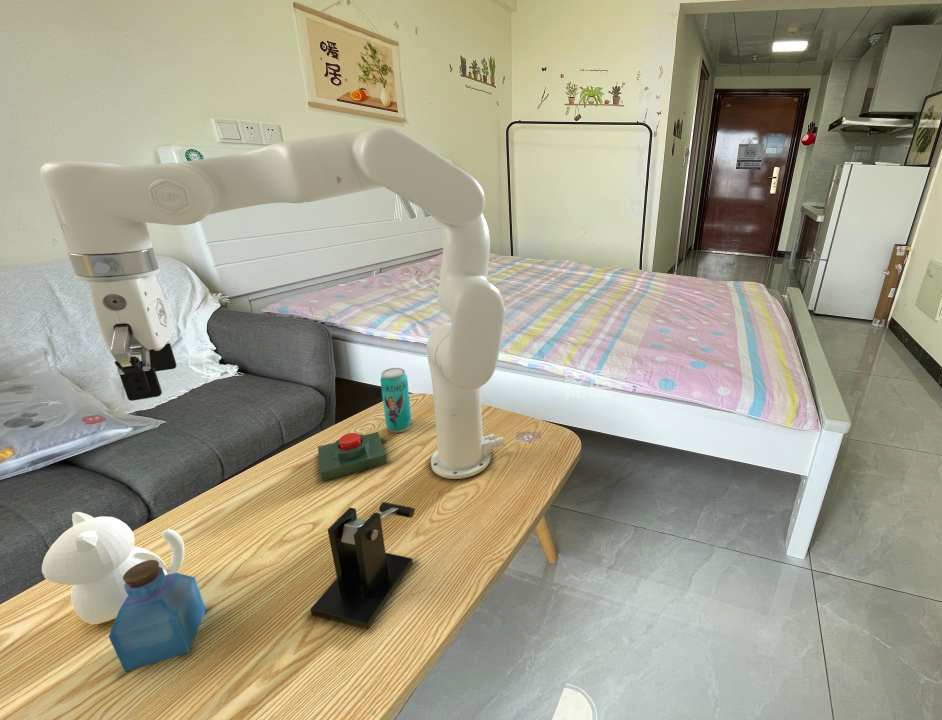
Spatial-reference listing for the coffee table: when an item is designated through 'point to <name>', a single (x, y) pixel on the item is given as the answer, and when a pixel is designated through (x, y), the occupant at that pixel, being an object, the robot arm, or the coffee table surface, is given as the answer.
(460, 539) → the coffee table surface
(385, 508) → the lever
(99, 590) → the cat figurine
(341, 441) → the button
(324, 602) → the bracket
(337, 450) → the control box
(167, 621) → the perfume bottle
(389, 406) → the beverage can
